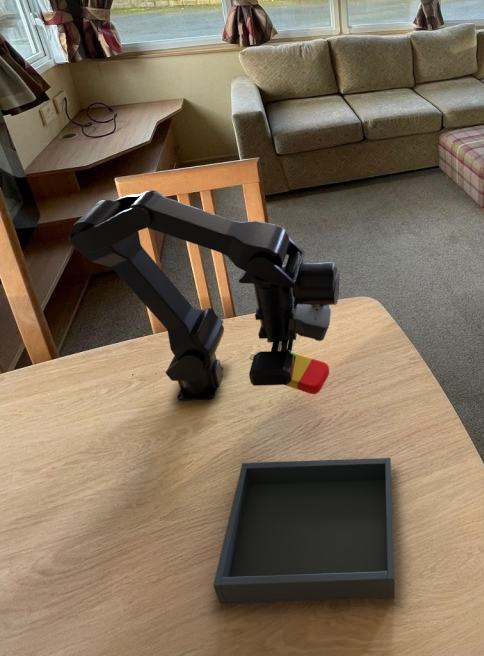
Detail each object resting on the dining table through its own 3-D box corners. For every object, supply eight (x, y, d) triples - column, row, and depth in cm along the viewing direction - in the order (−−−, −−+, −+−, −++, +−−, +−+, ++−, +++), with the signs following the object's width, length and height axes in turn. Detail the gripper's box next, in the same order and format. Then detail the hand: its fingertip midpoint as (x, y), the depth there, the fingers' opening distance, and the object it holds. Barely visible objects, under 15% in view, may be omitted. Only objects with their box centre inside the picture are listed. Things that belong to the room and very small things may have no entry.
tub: (219, 604, 59) (213, 585, 57) (247, 481, 72) (242, 462, 70) (395, 597, 60) (394, 579, 58) (391, 476, 72) (390, 457, 70)
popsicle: (317, 397, 80) (316, 389, 79) (241, 372, 85) (239, 364, 84) (332, 370, 85) (331, 363, 84) (259, 348, 90) (257, 340, 89)
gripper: (319, 344, 69) (327, 415, 76) (330, 259, 86) (335, 324, 93) (241, 346, 69) (256, 417, 76) (267, 261, 86) (277, 325, 93)
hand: (285, 366), depth 84 cm, fingers closed on popsicle, 6 cm apart
